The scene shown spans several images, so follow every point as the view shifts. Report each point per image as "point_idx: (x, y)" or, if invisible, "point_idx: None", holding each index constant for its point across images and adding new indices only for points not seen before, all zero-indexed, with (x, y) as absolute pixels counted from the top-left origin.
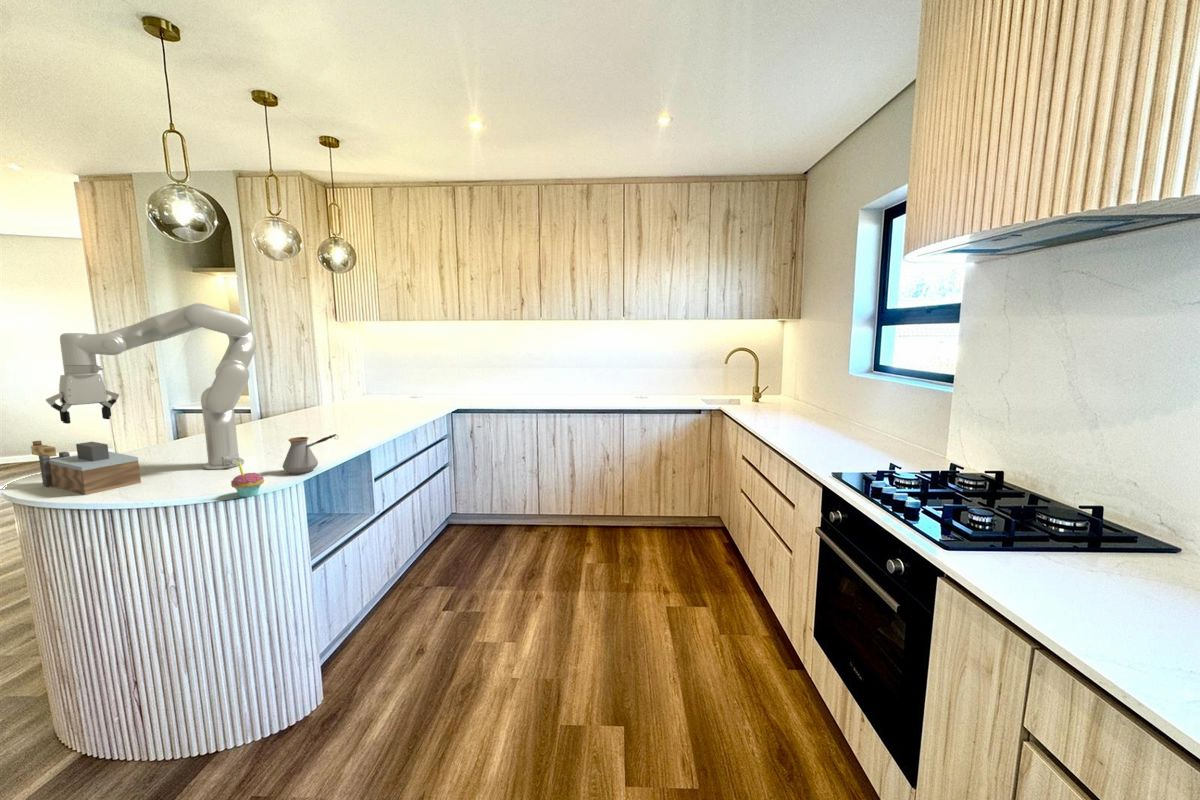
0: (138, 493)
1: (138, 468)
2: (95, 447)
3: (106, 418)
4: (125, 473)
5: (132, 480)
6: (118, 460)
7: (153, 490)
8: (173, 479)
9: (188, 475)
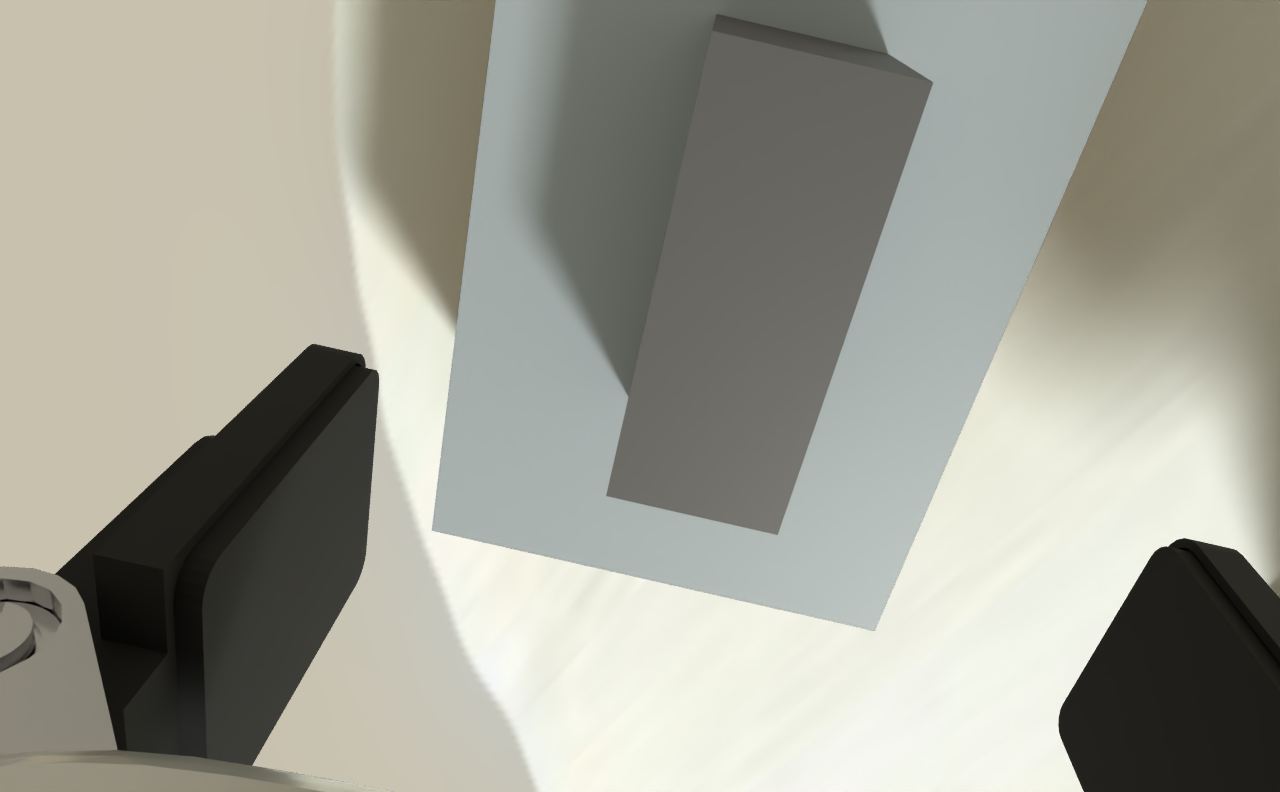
0: (621, 677)
1: None
2: (649, 496)
3: (1069, 709)
4: None
5: None
6: (717, 591)
7: (691, 704)
8: (950, 616)
9: (1070, 627)
